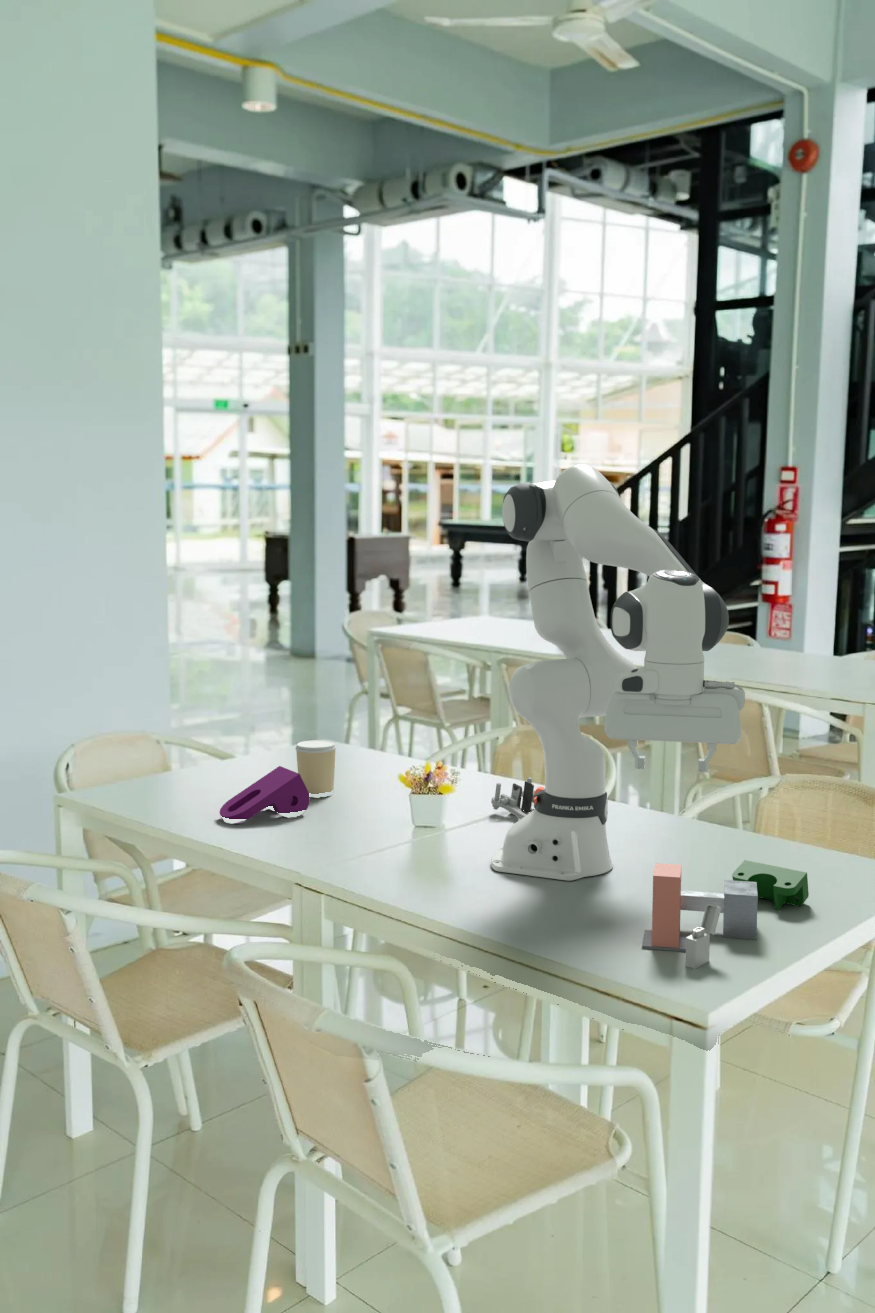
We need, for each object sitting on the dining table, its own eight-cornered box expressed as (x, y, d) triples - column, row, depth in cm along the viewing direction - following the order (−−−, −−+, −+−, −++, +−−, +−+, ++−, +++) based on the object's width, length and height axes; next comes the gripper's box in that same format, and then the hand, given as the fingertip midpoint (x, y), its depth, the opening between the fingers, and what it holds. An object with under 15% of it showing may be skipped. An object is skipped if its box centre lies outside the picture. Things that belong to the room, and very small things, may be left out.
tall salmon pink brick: (651, 945, 180) (653, 875, 179) (653, 931, 186) (655, 863, 185) (678, 948, 179) (680, 877, 178) (679, 933, 186) (681, 864, 184)
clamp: (744, 925, 203) (721, 878, 202) (759, 908, 207) (736, 861, 207) (805, 915, 194) (780, 865, 194) (819, 897, 199) (795, 849, 198)
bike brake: (483, 810, 259) (547, 844, 244) (487, 781, 257) (551, 813, 242) (528, 801, 267) (593, 833, 253) (532, 773, 266) (597, 803, 251)
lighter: (695, 969, 172) (696, 915, 171) (684, 966, 174) (686, 913, 172) (719, 955, 178) (721, 903, 176) (709, 952, 179) (711, 901, 178)
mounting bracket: (247, 853, 251) (315, 805, 259) (231, 820, 248) (299, 773, 256) (229, 842, 259) (294, 796, 267) (212, 810, 256) (279, 765, 264)
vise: (651, 931, 187) (652, 888, 187) (653, 916, 194) (654, 875, 193) (756, 939, 184) (757, 896, 183) (755, 924, 190) (756, 882, 190)
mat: (642, 948, 180) (642, 945, 180) (644, 932, 187) (644, 929, 187) (689, 952, 179) (689, 949, 179) (690, 935, 186) (690, 933, 185)
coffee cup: (320, 787, 283) (319, 738, 282) (344, 794, 277) (344, 743, 275) (288, 794, 277) (287, 743, 276) (312, 801, 270) (311, 749, 269)
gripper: (744, 678, 179) (741, 768, 181) (608, 674, 183) (606, 762, 185) (745, 685, 173) (742, 778, 174) (604, 680, 177) (602, 771, 179)
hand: (671, 769), depth 180 cm, fingers open, 8 cm apart
